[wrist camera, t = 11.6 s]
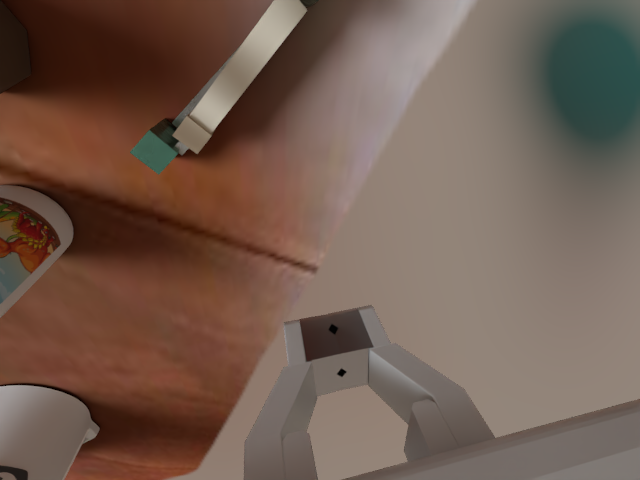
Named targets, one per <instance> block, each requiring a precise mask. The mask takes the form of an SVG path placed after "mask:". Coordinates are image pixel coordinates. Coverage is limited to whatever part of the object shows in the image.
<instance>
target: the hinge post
mask: <svg viewBox="0 0 640 480" xmlns="http://www.w3.org/2000/svg"><path fill="white" fill-rule="evenodd" d="M317 1H318V0H300V2H301V3H302V4H303V5H304V6H305V7H307V6H311V5H313V4H314V3H316V2H317Z"/></svg>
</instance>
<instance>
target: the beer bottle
mask: <svg viewBox="0 0 640 480" xmlns="http://www.w3.org/2000/svg"><path fill="white" fill-rule="evenodd" d="M30 75H31V66H30V56H29V46H28V36H27V30H26V29H25V28H24V27H23V26H22V24H21V23H20V22H19V21H18V20H17V19H16V17H15V16H14V15H13V14H12V13H11V12H10V11H9V9H8V8H7V7H6V6H5V5H4V4H3V2H2V1H1V0H0V94H1V93H2V92H4V91H6V90H7V89H9V88H10V87H12V86H14V85H15V84H17V83H18V82H20V81H22V80H23V79H25V78H27V77H28V76H30Z"/></svg>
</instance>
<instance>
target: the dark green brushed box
mask: <svg viewBox="0 0 640 480" xmlns="http://www.w3.org/2000/svg"><path fill="white" fill-rule="evenodd" d="M176 130H177V128H176V127H174V126H173V125H172V124H171V123H170V122H169V121H168V120H166V119H163V120H162V121H161V122H159V123H158V124H157V125H155V126H154V127H153V128H151V129H150V130H149V131H148V132H147V133H146V134H145V135H144V137H143V138H142V139H141V140H140V141H139V142H138V144H137V145H136V146H135V147H134V148H133V149H132V150H131V152H130V153H131V154H132V155H134V156H135V157H136V158H138V159H139V160H140V161H142V162H143V163H144V164H146V165H147V166H148V167H150V168H151V169H152V170H154V171H155V172H156V173H158V174H160V173H161V172H162V171H163V169H164V168H165V167H166V166H167V165H168V164H169V163H170V162H171V161H172V160H173V159H174V158H175V156H176V155H177V154H178V153H179V154H181V155H183V154H184V153H185V152H186V151H187V150H188V149H189V148H188V147H187V146H186V145H184V144H183V143H181V142H180V141H179V140H177V139H176V138H175V137H173V136H172V135H173V134H174V132H175V131H176Z"/></svg>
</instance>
